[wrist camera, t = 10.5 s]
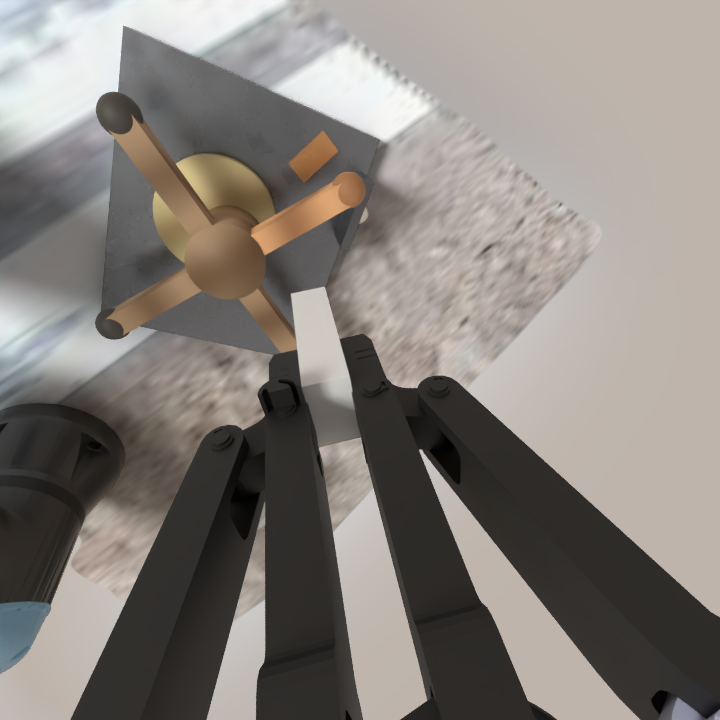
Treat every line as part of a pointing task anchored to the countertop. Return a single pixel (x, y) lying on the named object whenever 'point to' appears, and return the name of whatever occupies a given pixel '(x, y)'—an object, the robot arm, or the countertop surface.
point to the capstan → (213, 225)
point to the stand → (247, 145)
